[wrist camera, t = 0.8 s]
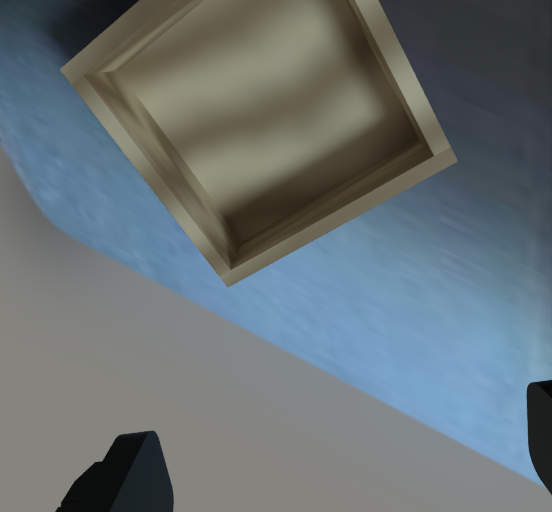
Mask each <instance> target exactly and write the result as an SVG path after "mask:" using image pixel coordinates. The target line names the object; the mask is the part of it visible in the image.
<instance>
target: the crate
mask: <svg viewBox="0 0 552 512" xmlns="http://www.w3.org/2000/svg"><path fill="white" fill-rule="evenodd" d="M60 71H61V72H62V73H63V74H64V76H65V77H66V78H67V80H68V81H69V82H70V83H71V85H72V86H73V87H74V89H75V90H76V91H77V93H78V94H79V95H80V96H81V98H82V99H83V100H84V102H85V103H86V104H87V106H88V107H89V108H90V109H91V111H92V112H93V113H94V115H95V116H96V117H97V118H98V120H99V121H100V122H101V124H102V125H103V126H104V128H105V129H106V130H107V131H108V133H109V134H110V135H111V137H112V138H113V139H114V141H115V142H116V143H117V144H118V146H119V147H120V148H121V150H122V151H123V152H124V154H125V155H126V156H127V157H128V159H129V160H130V161H131V163H132V164H133V165H134V166H135V168H136V169H137V170H138V172H139V173H140V174H141V176H142V177H143V178H144V179H145V181H146V182H147V183H148V185H149V186H150V187H151V189H152V190H153V191H154V192H155V194H156V195H157V196H158V198H159V199H160V200H161V201H162V203H163V204H164V205H165V207H166V208H167V209H168V211H169V212H170V213H171V214H172V216H173V217H174V218H175V220H176V221H177V222H178V224H179V225H180V226H181V227H182V229H183V230H184V231H185V233H186V234H187V235H188V237H189V238H190V239H191V240H192V242H193V243H194V244H195V246H196V247H197V248H198V249H199V251H200V252H201V253H202V255H203V256H204V257H205V259H206V260H207V261H208V262H209V264H210V265H211V266H212V268H213V269H214V270H215V272H216V273H217V274H218V275H219V277H220V278H221V279H222V281H223V282H224V283H225V285H226V286H227V287H229V286H231V285H233V284H235V283H237V282H239V281H240V280H242V279H244V278H246V277H248V276H249V275H251V274H253V273H255V272H257V271H259V270H260V269H262V268H264V267H266V266H268V265H270V264H271V263H273V262H275V261H277V260H279V259H280V258H282V257H284V256H286V255H288V254H290V253H291V252H293V251H295V250H297V249H299V248H301V247H302V246H304V245H306V244H308V243H310V242H311V241H313V240H315V239H317V238H319V237H321V236H322V235H324V234H326V233H328V232H330V231H332V230H333V229H335V228H337V227H339V226H341V225H342V224H344V223H346V222H348V221H350V220H352V219H353V218H355V217H357V216H359V215H361V214H363V213H364V212H366V211H368V210H370V209H372V208H373V207H375V206H377V205H379V204H381V203H383V202H384V201H386V200H388V199H390V198H392V197H394V196H395V195H397V194H399V193H401V192H403V191H404V190H406V189H408V188H410V187H412V186H414V185H415V184H417V183H419V182H421V181H423V180H425V179H426V178H428V177H430V176H432V175H434V174H435V173H437V172H439V171H441V170H443V169H445V168H446V167H448V166H450V165H452V164H454V163H456V162H457V159H456V157H455V155H454V153H453V151H452V149H451V147H450V145H449V143H448V141H447V139H446V137H445V135H444V133H443V130H442V128H441V126H440V124H439V122H438V120H437V118H436V116H435V114H434V112H433V110H432V108H431V106H430V104H429V102H428V100H427V98H426V96H425V94H424V92H423V90H422V88H421V86H420V84H419V82H418V80H417V78H416V76H415V74H414V72H413V70H412V68H411V66H410V63H409V61H408V59H407V57H406V55H405V53H404V51H403V49H402V47H401V45H400V43H399V41H398V39H397V37H396V35H395V33H394V31H393V29H392V27H391V25H390V23H389V21H388V19H387V17H386V15H385V13H384V11H383V9H382V7H381V5H380V3H379V1H378V0H139V1H138V2H137V3H136V4H135V5H133V6H132V7H131V8H130V9H129V10H128V11H127V12H125V13H124V14H123V15H122V16H121V17H120V18H118V19H117V20H116V21H115V22H114V23H113V24H112V25H110V26H109V27H108V28H107V29H106V30H105V31H104V32H102V33H101V34H100V35H99V36H98V37H97V38H95V39H94V40H93V41H92V42H91V43H90V44H89V45H87V46H86V47H85V48H84V49H83V50H82V51H80V52H79V53H78V54H77V55H76V56H75V57H74V58H72V59H71V60H70V61H69V62H68V63H67V64H66V65H64V66H63V67H62V68H61V69H60Z"/></svg>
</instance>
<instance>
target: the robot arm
mask: <svg viewBox="0 0 552 512" xmlns="http://www.w3.org/2000/svg"><path fill="white" fill-rule="evenodd" d="M527 418H528V446H529V453H530V457H531V460H532V463H533V466H534V468H535V470H536V472H537V474H538V476H539V478H540V479H541V481H542V482H543V484H544V485H545V486H546V488H547V489H548V490H549V492H550V493H551V494H552V380H548V381H540V382H532V383H530V384H529V385H528V387H527ZM173 499H174V498H173V489H172V485H171V481H170V477H169V474H168V470H167V467H166V463H165V459H164V456H163V452H162V448H161V445H160V441H159V438H158V436H157V434H156V432H154V431H145V432H138V433H130V434H123V435H119V436H118V437H117V438H116V439H115V441H114V442H113V444H112V446H111V447H110V449H109V451H108V453H107V454H106V456H105V458H104V459H103V461H102V462H95V463H94V464H93V465H92V466H91V467H90V468H88V469H87V470H86V471H85V472H84V473H83V474H82V475H81V476H80V477H79V478H78V479H77V480H76V481H75V482H74V483H73V485H72V486H71V488H70V490H69V491H68V493H67V494H66V496H65V497H64V499H63V501H62V502H61V507H58V508H57V510H56V512H173V504H174V503H173V502H174V500H173Z"/></svg>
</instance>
